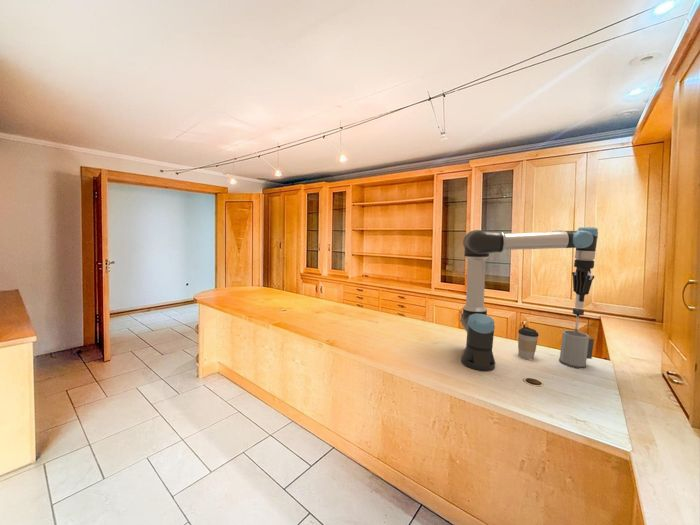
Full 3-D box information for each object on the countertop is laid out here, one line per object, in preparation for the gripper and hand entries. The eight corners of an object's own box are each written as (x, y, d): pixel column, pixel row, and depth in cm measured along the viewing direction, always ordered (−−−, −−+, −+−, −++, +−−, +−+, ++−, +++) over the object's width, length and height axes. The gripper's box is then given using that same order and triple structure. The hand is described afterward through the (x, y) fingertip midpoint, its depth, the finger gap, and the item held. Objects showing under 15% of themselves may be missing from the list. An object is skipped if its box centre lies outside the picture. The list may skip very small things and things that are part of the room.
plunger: (571, 341, 144) (575, 310, 142) (563, 336, 151) (566, 306, 149) (587, 342, 143) (591, 311, 141) (578, 337, 150) (581, 307, 148)
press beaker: (566, 367, 143) (570, 336, 142) (554, 358, 154) (557, 329, 152) (597, 370, 142) (601, 338, 140) (582, 360, 152) (586, 331, 151)
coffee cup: (539, 361, 149) (542, 332, 148) (519, 359, 151) (522, 330, 149) (531, 354, 158) (534, 327, 157) (513, 352, 160) (516, 325, 158)
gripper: (602, 261, 136) (596, 311, 138) (584, 258, 148) (578, 304, 151) (584, 260, 137) (578, 310, 139) (567, 258, 149) (562, 303, 152)
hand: (578, 307), depth 145 cm, fingers closed
